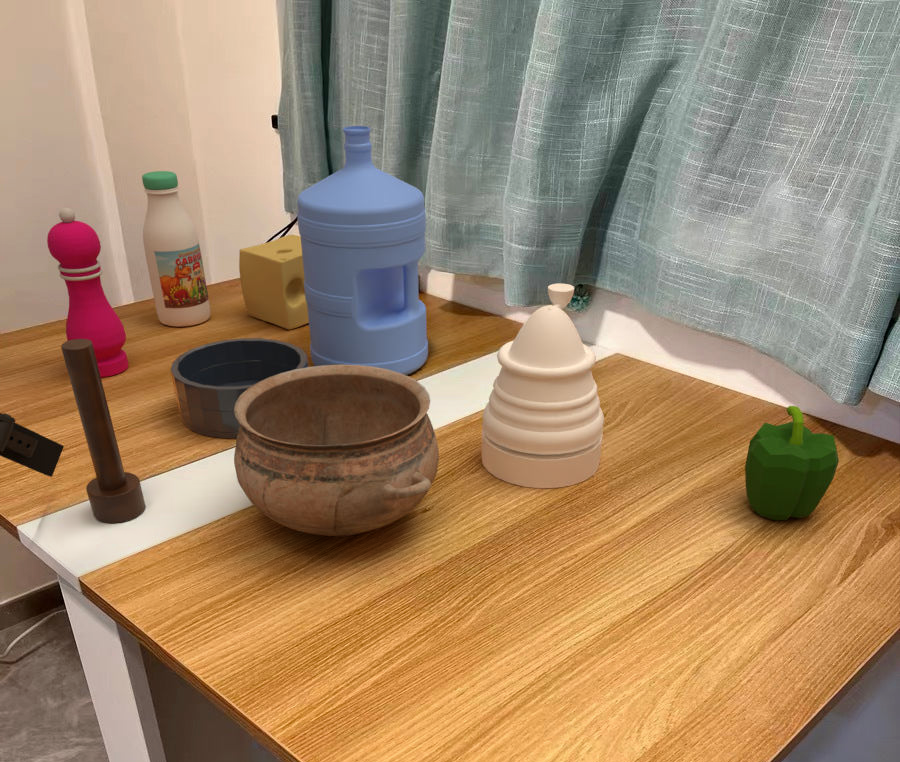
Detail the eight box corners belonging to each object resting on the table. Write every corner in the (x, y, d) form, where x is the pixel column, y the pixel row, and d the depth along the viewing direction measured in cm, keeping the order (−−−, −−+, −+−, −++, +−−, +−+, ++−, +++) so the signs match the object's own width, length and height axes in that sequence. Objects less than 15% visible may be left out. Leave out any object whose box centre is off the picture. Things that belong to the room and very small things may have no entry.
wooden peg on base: (87, 524, 86) (39, 355, 76) (99, 498, 90) (55, 334, 80) (140, 522, 86) (98, 353, 76) (150, 496, 90) (111, 333, 80)
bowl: (174, 443, 100) (164, 393, 96) (186, 387, 112) (177, 341, 109) (314, 434, 102) (309, 384, 98) (310, 380, 114) (305, 334, 111)
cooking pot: (194, 502, 89) (171, 387, 82) (346, 445, 99) (338, 339, 92) (338, 615, 74) (326, 487, 67) (501, 535, 84) (505, 416, 77)
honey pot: (521, 423, 104) (528, 265, 93) (620, 452, 98) (640, 287, 87) (458, 465, 95) (458, 298, 85) (562, 500, 89) (577, 324, 79)
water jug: (289, 373, 116) (262, 134, 99) (346, 334, 127) (330, 114, 111) (397, 392, 111) (387, 144, 94) (446, 349, 123) (445, 122, 106)
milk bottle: (149, 326, 130) (119, 178, 118) (171, 309, 136) (144, 167, 124) (199, 329, 129) (173, 180, 117) (219, 311, 135) (196, 168, 123)
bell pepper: (821, 537, 84) (849, 441, 78) (732, 522, 86) (753, 427, 80) (824, 496, 90) (850, 404, 84) (740, 482, 92) (760, 392, 86)
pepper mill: (63, 374, 116) (19, 211, 104) (100, 355, 121) (62, 198, 109) (108, 382, 114) (68, 217, 102) (144, 362, 119) (109, 203, 107)
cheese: (342, 314, 134) (337, 245, 128) (286, 333, 128) (278, 261, 122) (299, 299, 140) (292, 232, 134) (243, 316, 134) (233, 247, 128)
